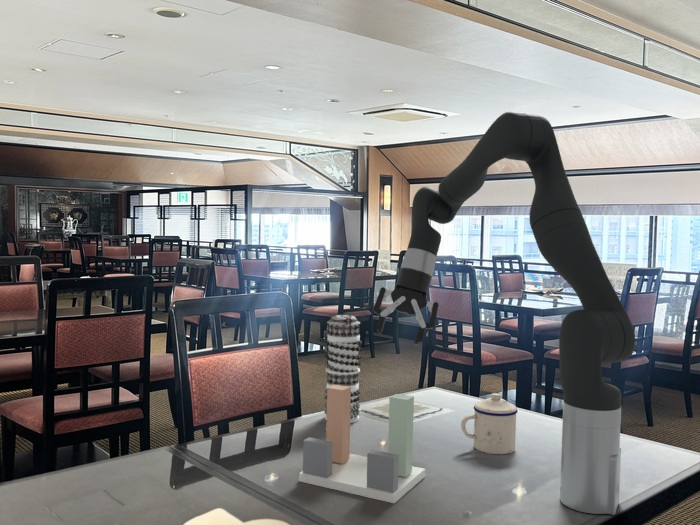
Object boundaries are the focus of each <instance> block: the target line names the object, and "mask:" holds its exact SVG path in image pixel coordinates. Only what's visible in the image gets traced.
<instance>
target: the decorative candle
mask: <svg viewBox="0 0 700 525" xmlns="http://www.w3.org/2000/svg"><path fill="white" fill-rule="evenodd" d="M326 324H327V325H328V333H327V337H326V338H324V341H323V343H325V345H326V346H324V352H325V353H324V358H325V359H326V361H325V362H324V364H325V365H324V366H325V372H326V373H327V376H326V378H327V380H326V389H325V391H324V393H325V394H326V395H325V397H324V399H325V401H326V402H325V403H324V408H325V409H324V414H325V415H324V420H325V421H327V388H328V387H330V386H333V385H341V386H348V387H351V404H350V424H354V423H355V422H359V421H360V416H359V415H360V412H361V411H360V408H361V405H360V403H359V401H360V398H361V397H360V396H359V395H360V393H361V390H360V388H359V387H360V386H359V385H360V384H359V383H360V382H359V373H360V372H361V368H360V367H359V366H361V365H362V362H361V361H359V360H361V359H362V356H361V355H360V354H359V352H361V351H362V350H363V348H362V347H361V345H362V344H363V341H362V340H361V339H360V338H361V335H360V324H361V321H358V319H357V318H356V316H354V315H351V314H350V315H349V314H337V315H333V316H331V317H330V319H329V320H328V321H327V322H326Z"/></svg>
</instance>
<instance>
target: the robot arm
mask: <svg viewBox="0 0 700 525" xmlns="http://www.w3.org/2000/svg"><path fill="white" fill-rule="evenodd" d="M557 140H558V139H557V137H556V134H555V131H554V128H553V126H552V124H551V123H550V122H549V120H548V119H547V118H546V117H544V116H542V115H539V114H536V113H530V112H522V111H514V110H513V111H512V110H511V111H510V110H509V111H505V112H504V113H502V114H501V115H499V116H498V117H497V118H496V119H495V120H493V122H492V123H491V125H490V126H489V127H488V129H487V130H486V131H485V133H484V134H483V135H482V137H481V138H480V139H479V140H478V141H477V143H476V144H475V146H474V147H473V149H472V150H471V151H470V153H469V154H468V155H467V156H466V157H465V158H464V159H463V160H462V162H461V163H460V164H459V165H458V166H457V167H455V168H454V169H453V170H452V171H450V172H449V174H447V175H446V176H444V178H443V179H442V180H441V181H440V183H439V185H438V190H437V189H435V188H433V187H430V186H422V187H421V188H419V189H418V190H417V191H416V193H415V194H414V196H413V199H412V204H411V209H412V210H411V212H412V213H411V214H412V215H411V217H412V218H411V219H412V220H411V221H412V222H411V233H410V234H411V235H410V237H409V242H408V245H407V247H406V248H407V249H406V251H405V254H404V256H403V258H402V262H401V265H400V270H399V271H398V277H397V281H396V283H395V287H394V289H393V290H389V289H386V287H385V286H383V287H380V289H379V292H378V295H377V298H376V301H375V303H374V306H373V312H374V313H375V314H377V316H378V321H377V323H376V327H375V328H376V331H377V334H379V335H382V332H383V330H384V325H385V323H386V317H388V316H389V315H390V314H392V313H393V312H394V311H395V310H396V311H397V312H398V313H400V314H406V315H408V316H415V318H416V321H417V322H418V325H419V327H418V330H417V333H416V337H415V340H414V343H413V344H414V345H416V346H418V344H421V343H422V340H423V337H424V333H425V330H429V329H430V330H431V329H434V327H435V325H436V321H437V320H436V318H437V313H438V310H439V302H438V301H435V302H433V301H429V300H427V296H428V293H429V290H430V287H431V286H430V285H431V282H432V279H433V276H434V271H435V268H436V260H437V257H438V256H437V255H438V253H439V249H440V244H441V241H442V235H441V233H440V232H439V231H438V230H436V229H435V228H434V227H433V226H432V225H431V224H430V221H432V222H434V223H436V224H439V225H445V224H449V223H450V222H452V221H454V219H455V217H456V215H457V214H458V212H459V210H460V209H461V207H462V205H463V204H464V203H465V202H466V201H468V200H469V199H470V198H471V197H473V196H474V195H475V194H477V192H479V191H480V190H481V188H482V187H483V186H484V184H485V181H486V179H487V175H488V169H489V168H490V167H491V166H493V165H494V164H495V163H498V162H499V161H502V160H503V159H504V160H505V159H507V160H511V161H512V160H513V161H522V162H525V163H526V164H527V165H528V167H529V168H528V169H529V170H530V172H531V174H532V177H533V181H534V186H535V189H534V194H533V198H532V202H531V204H530V205H531V206H530V209H529V224H530V228H531V231H532V235H533V236H534V240H535V242H536V245H537V247H538V248H537V249H538V250H539V252H540V254H541V255H542V257H543V258H544V259H545V261H546V263H547V264H548V265H550V266H551V268H552V269H553V270H554V271H556V273H557V274H558V275H560V277H562V279H563V280H565V282H566V283H567V284H568V285H569V286H570V287H571V288H572V290H573V291H574V292H575V294H576V296H577V297H578V299H579V301H580V303H581V306H582V308H583V309H576V310H572V311H569V313H567V314H566V315H565V317H564V318H563V320H562V322H561V324H560V329H559V336H558V337H559V338H558V340H559V341H558V349H559V350H558V353H559V354H558V356H559V357H558V358H559V380H560V381H559V382H560V384H561V388H562V392H563V396H562V397H563V402H562V404H563V405H562V428H561V429H562V430H561V431H562V432H561V452H560V453H561V454H560V455H561V458H560V479H559V480H560V484H559V501H560V502H561V503H562V504H563V505H564V506H565V507H568V508H569V509H572V510H575V511H578V512H581V513H585V514H593V515H594V514H595V515H604V514H605V515H607V514H608V515H613V516H616V513H617V509H618V508H619V507H618V506H619V503H620V485H621V484H620V483H621V460H622V459H621V458H622V448H621V447H620V446H621V445H620V444H621V421H622V415H621V414H622V400H623V399H622V398H623V397H622V391H621V390H620V389H619V388H618V387H617V386H616V385H613V384H610V383H607V382H606V381H604V379H603V372H602V364H603V365H605V364H612V363H620V362H624V361H627V360H628V359H629V358H630V357H631V356H632V354H633V353H634V350H635V345H636V334H635V330H634V327H633V324H632V321H631V319H630V317H629V315H628V313H627V311H626V309H625V307H624V305H623V303H622V301H621V299H620V297H619V296H618V294H617V292H616V290H615V287H614V286H613V284H612V282H611V280H610V279H609V277H608V274H607V272H606V270H605V267H604V266H603V263H602V260H601V259H600V256H599V254H598V251H597V250H596V247H595V245H594V242H593V240H592V237H591V234H590V231H589V228H588V226H587V224H586V221H585V218H584V215H583V213H582V211H581V208H580V206H579V204H578V202H577V200H576V198H575V195H574V191H573V189H572V186H571V183H570V181H569V178H568V175H567V173H566V170H565V168H564V162H563V159H562V156H561V153H560V149H559V145H558V141H557ZM429 220H430V221H429ZM388 297H391V300H392V303H391V304H390V305H388V306H387V307H386V308H385V309H383V310H382V309H381V308H382V303H383V301H384V299H385V300H386V299H388ZM426 306H427V307H428V311H429V312H431V313H430V317H429V322H425V320H424V317H423V314H422V312H421V311H423V309H424V308H425V307H426Z"/></svg>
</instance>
